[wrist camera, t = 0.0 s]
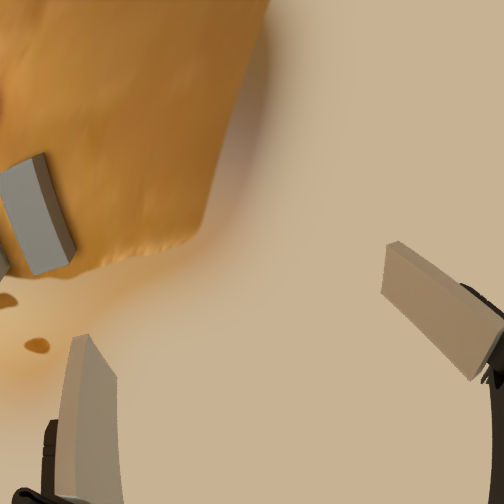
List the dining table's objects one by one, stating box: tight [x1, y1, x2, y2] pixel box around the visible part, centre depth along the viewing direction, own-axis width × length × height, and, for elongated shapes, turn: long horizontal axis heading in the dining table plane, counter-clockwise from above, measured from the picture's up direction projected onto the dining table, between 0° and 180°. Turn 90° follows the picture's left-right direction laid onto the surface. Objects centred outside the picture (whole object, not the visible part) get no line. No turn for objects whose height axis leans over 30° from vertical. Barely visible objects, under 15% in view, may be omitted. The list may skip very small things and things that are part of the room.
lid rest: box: [0, 153, 76, 276], centre depth 29 cm, size 14×6×4 cm, turn 9°
